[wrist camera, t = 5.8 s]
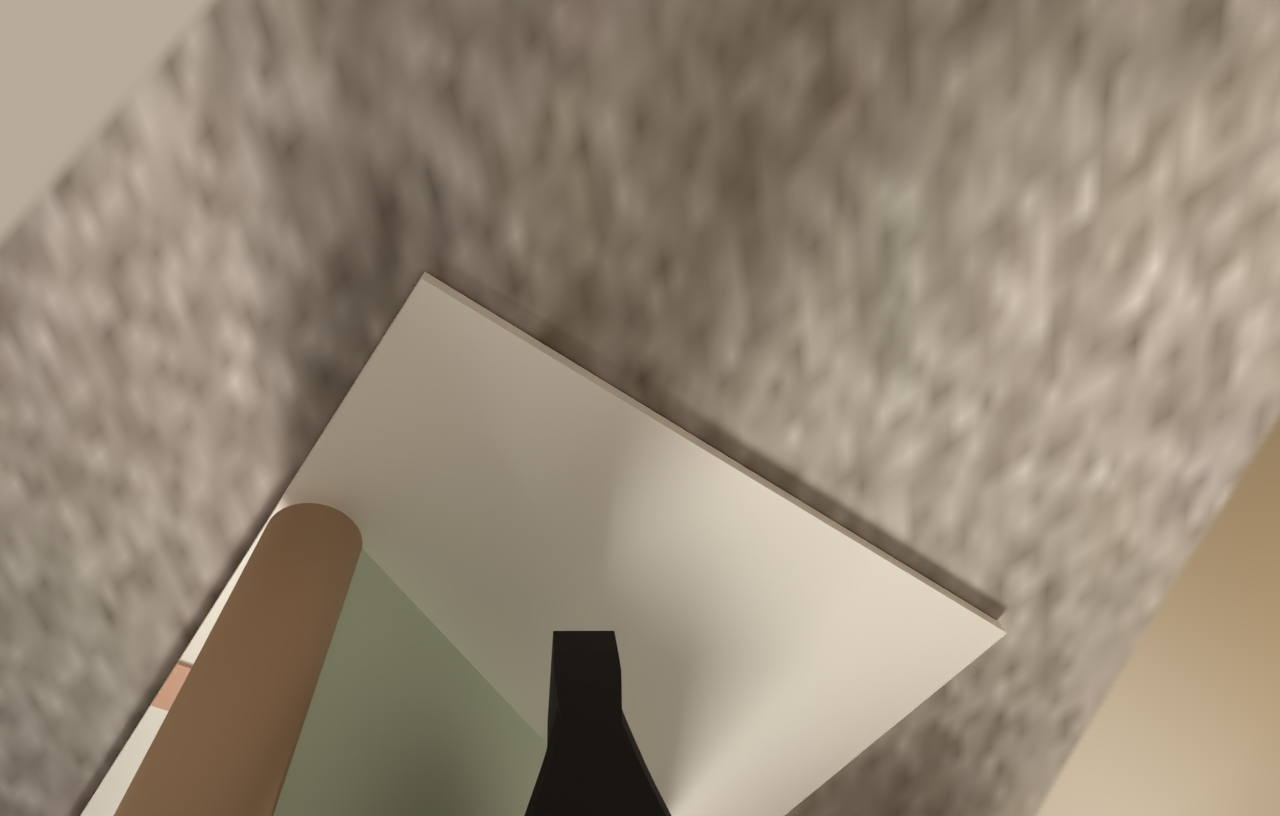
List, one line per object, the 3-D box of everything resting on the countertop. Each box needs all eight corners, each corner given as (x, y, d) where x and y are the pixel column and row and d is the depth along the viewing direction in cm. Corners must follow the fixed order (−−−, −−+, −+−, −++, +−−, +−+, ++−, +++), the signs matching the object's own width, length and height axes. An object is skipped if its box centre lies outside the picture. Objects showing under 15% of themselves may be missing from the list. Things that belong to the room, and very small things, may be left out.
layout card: (482, 1050, 22) (481, 1065, 21) (-14, 962, 17) (-24, 980, 16) (998, 622, 15) (1008, 635, 15) (424, 271, 10) (420, 279, 10)
